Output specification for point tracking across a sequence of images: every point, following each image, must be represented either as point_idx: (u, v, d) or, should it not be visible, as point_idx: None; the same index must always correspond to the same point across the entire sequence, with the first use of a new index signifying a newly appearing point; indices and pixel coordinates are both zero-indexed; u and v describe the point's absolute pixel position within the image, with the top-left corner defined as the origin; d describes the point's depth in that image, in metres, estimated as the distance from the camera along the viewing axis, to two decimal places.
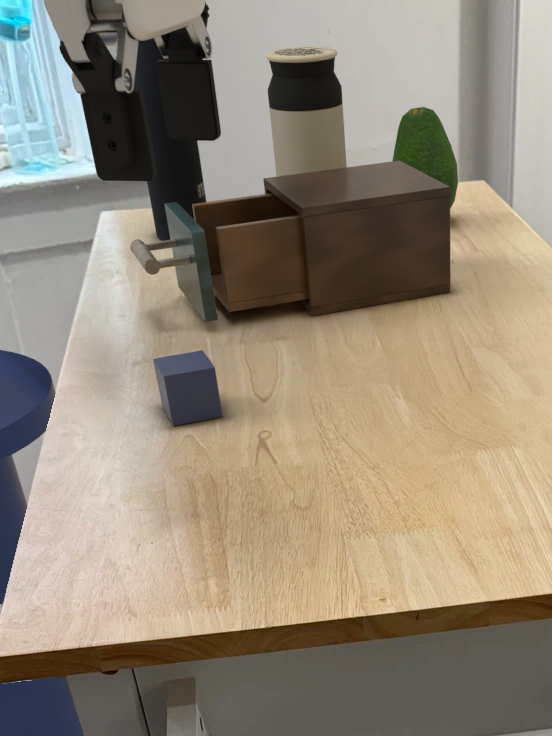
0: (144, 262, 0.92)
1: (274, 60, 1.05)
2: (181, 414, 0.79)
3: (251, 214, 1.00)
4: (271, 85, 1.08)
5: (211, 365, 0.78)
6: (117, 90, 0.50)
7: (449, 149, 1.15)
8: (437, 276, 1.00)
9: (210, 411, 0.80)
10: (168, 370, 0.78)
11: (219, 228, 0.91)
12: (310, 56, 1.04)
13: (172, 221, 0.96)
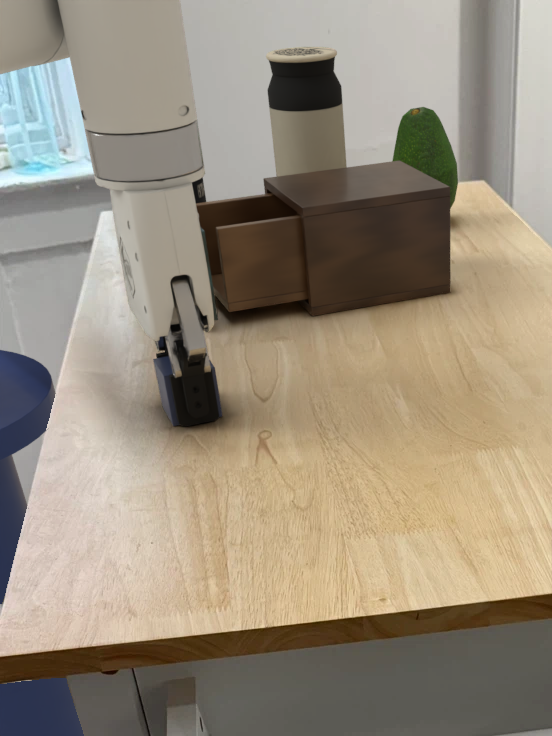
0: None
1: (274, 60, 1.05)
2: None
3: (251, 214, 1.00)
4: (271, 85, 1.08)
5: (211, 365, 0.78)
6: (204, 372, 0.76)
7: (449, 149, 1.15)
8: (437, 276, 1.00)
9: None
10: (168, 370, 0.78)
11: (219, 228, 0.91)
12: (310, 56, 1.04)
13: None
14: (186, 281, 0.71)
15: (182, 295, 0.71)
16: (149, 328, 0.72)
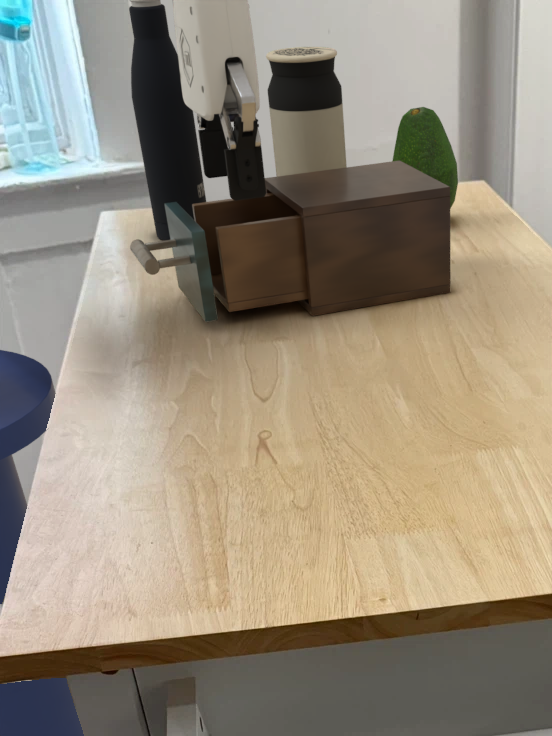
0: (144, 262, 0.92)
1: (274, 60, 1.05)
2: None
3: (251, 214, 1.00)
4: (271, 85, 1.08)
5: None
6: (255, 146, 0.87)
7: (449, 149, 1.15)
8: (437, 276, 1.00)
9: None
10: None
11: (219, 228, 0.91)
12: (310, 56, 1.04)
13: (172, 221, 0.96)
14: (237, 58, 0.84)
15: (234, 65, 0.83)
16: (205, 106, 0.85)
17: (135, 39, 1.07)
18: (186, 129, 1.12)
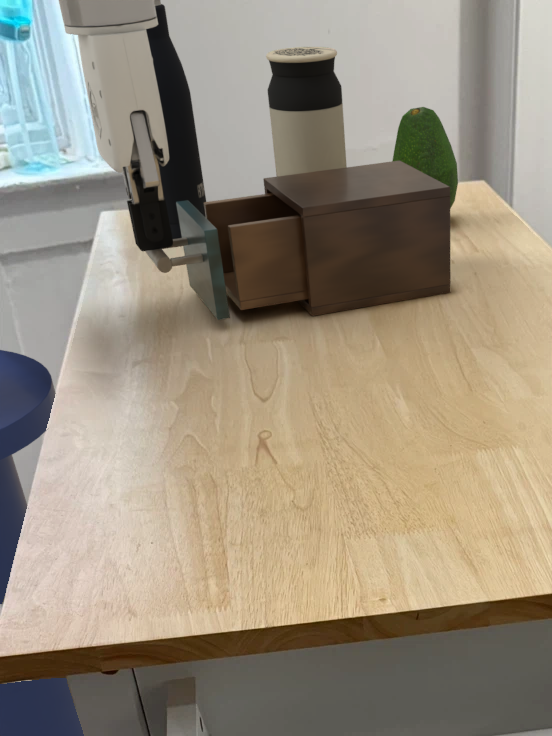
0: (156, 260, 0.92)
1: (274, 60, 1.05)
2: None
3: (262, 213, 1.00)
4: (271, 85, 1.08)
5: None
6: (158, 200, 0.91)
7: (449, 149, 1.15)
8: (437, 276, 1.00)
9: None
10: None
11: (231, 226, 0.91)
12: (310, 56, 1.04)
13: (184, 219, 0.96)
14: (144, 121, 0.84)
15: (140, 134, 0.84)
16: (113, 159, 0.85)
17: None
18: (186, 129, 1.12)
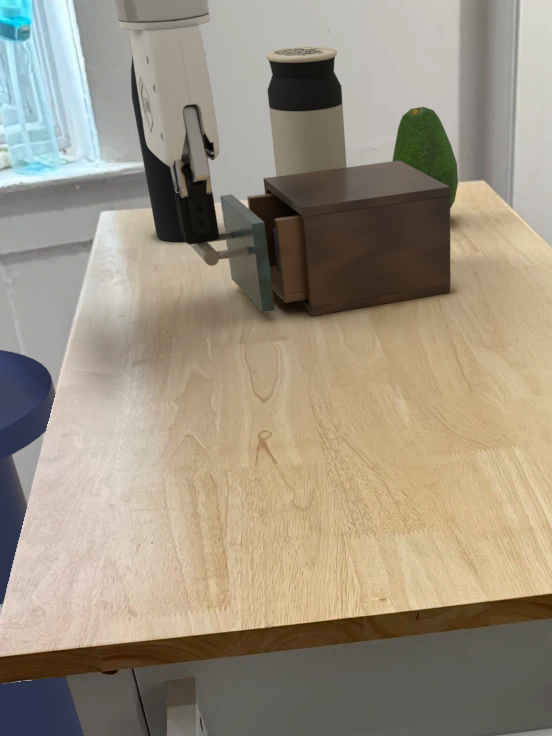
0: (204, 253, 0.93)
1: (274, 60, 1.05)
2: None
3: None
4: (271, 85, 1.08)
5: None
6: (206, 193, 0.92)
7: (449, 149, 1.15)
8: (437, 276, 1.00)
9: None
10: None
11: (278, 220, 0.92)
12: (310, 56, 1.04)
13: (229, 213, 0.98)
14: (196, 115, 0.85)
15: (192, 128, 0.86)
16: (165, 153, 0.86)
17: None
18: None
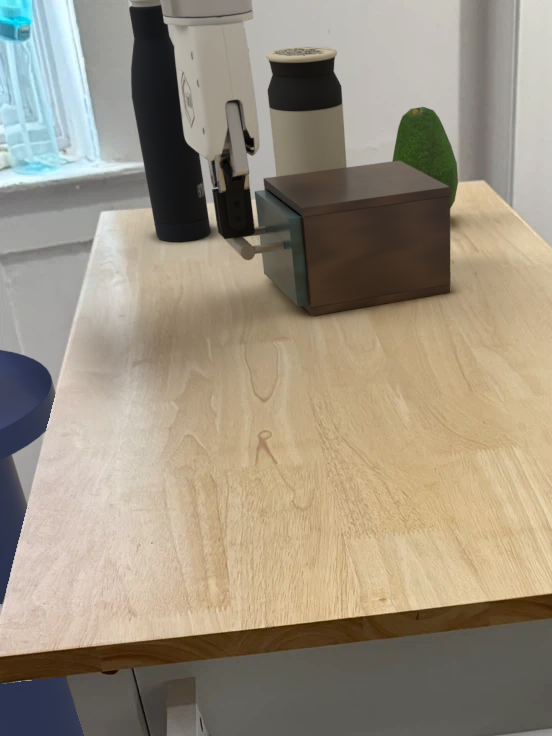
0: (240, 248, 0.94)
1: (274, 60, 1.05)
2: None
3: None
4: (271, 85, 1.08)
5: None
6: (244, 188, 0.93)
7: (449, 149, 1.15)
8: (437, 276, 1.00)
9: None
10: None
11: None
12: (310, 56, 1.04)
13: (263, 208, 0.99)
14: (237, 110, 0.86)
15: (233, 123, 0.87)
16: (206, 147, 0.87)
17: (135, 39, 1.07)
18: None
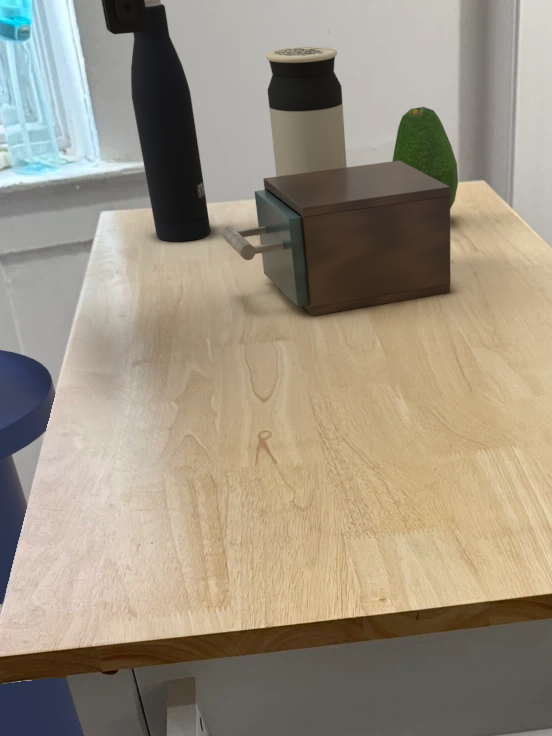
0: (240, 248, 0.94)
1: (274, 60, 1.05)
2: None
3: None
4: (271, 85, 1.08)
5: None
6: None
7: (449, 149, 1.15)
8: (437, 276, 1.00)
9: None
10: None
11: None
12: (310, 56, 1.04)
13: (263, 208, 0.99)
14: None
15: None
16: None
17: (135, 39, 1.07)
18: (186, 129, 1.12)
